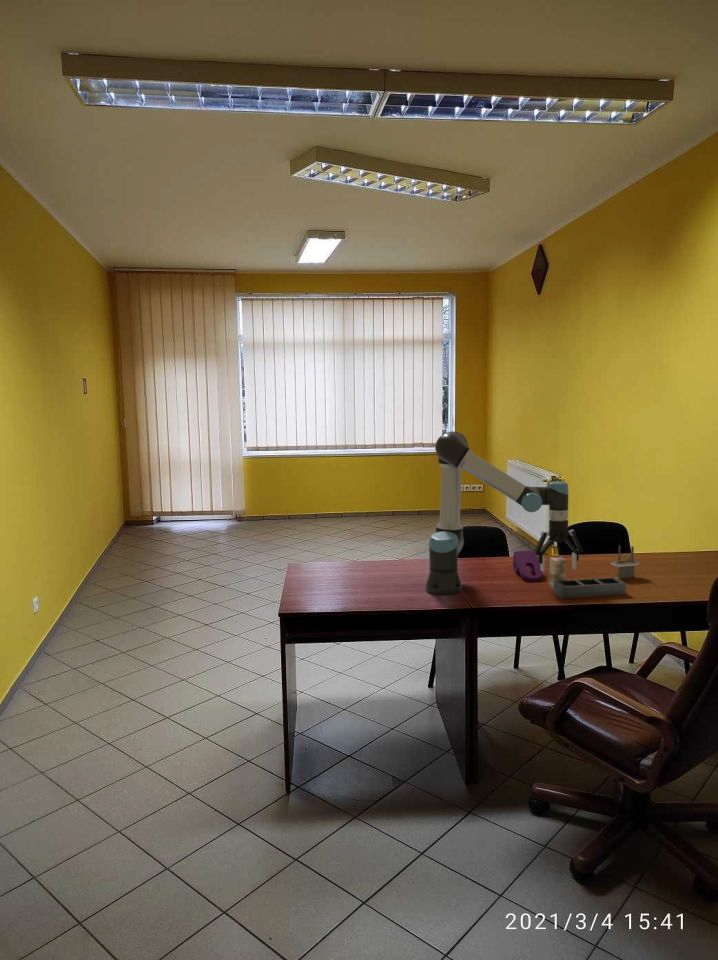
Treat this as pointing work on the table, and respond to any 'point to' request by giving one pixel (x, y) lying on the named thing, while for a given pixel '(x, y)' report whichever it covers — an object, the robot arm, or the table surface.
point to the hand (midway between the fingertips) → (558, 569)
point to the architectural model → (625, 565)
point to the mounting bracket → (527, 559)
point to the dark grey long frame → (589, 587)
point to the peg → (557, 570)
